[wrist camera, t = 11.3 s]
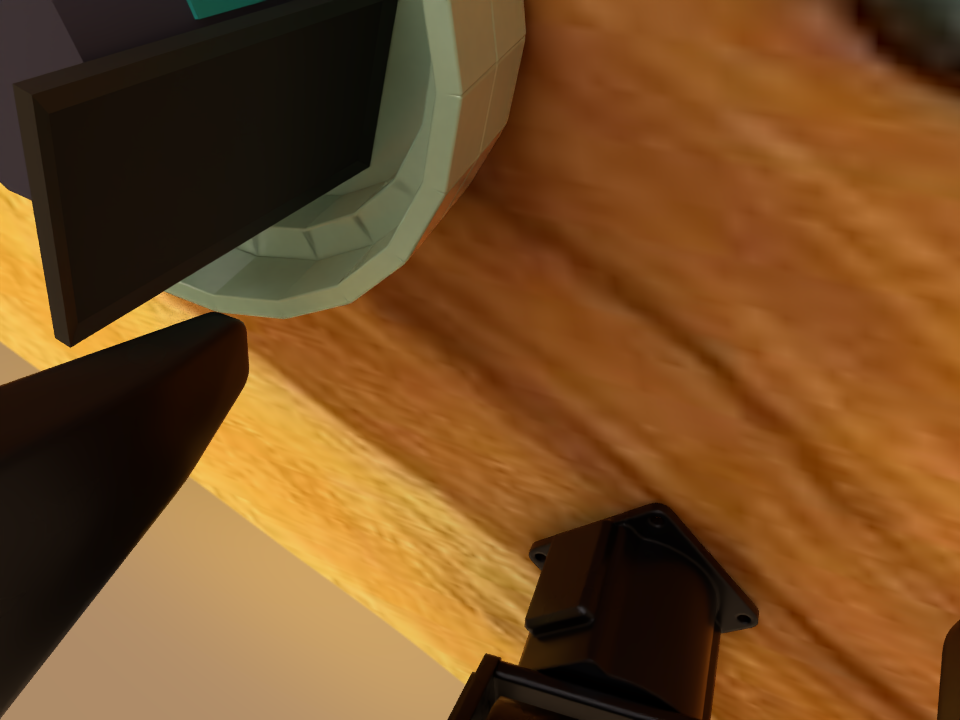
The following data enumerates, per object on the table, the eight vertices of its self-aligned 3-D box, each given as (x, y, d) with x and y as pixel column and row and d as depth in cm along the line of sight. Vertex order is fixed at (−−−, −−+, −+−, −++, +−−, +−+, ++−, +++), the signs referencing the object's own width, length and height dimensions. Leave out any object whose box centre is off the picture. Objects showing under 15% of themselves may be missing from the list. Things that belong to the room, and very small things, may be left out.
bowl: (647, 44, 19) (602, 119, 15) (314, 302, 27) (234, 390, 24) (205, -579, 15) (-6, -688, 11) (-19, -45, 23) (-178, -6, 20)
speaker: (471, 10, 19) (153, 171, 11) (368, 169, 23) (84, 365, 15) (232, -221, 18) (-268, -214, 11) (170, -16, 22) (-224, 93, 15)
